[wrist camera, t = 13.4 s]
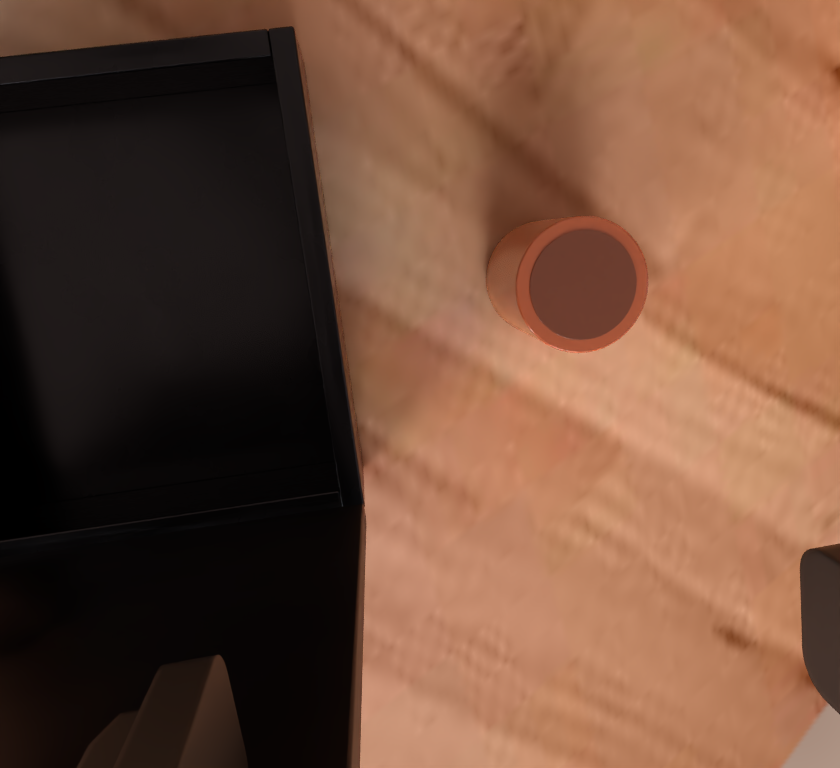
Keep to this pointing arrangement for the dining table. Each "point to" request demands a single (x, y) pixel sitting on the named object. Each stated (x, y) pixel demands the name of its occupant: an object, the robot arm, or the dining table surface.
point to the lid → (190, 635)
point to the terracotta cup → (569, 281)
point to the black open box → (166, 294)
